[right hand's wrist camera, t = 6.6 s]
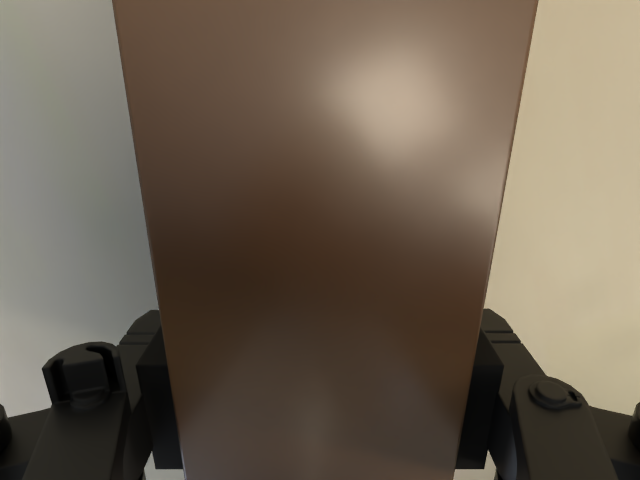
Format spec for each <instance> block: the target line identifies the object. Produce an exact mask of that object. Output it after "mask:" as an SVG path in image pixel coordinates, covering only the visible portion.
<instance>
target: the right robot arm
mask: <svg viewBox="0 0 640 480" xmlns="http://www.w3.org/2000/svg"><path fill="white" fill-rule="evenodd" d="M42 371H43V375H44V378H45V382H46V385H47V388H48V392H49V395H50V398H51V402H52V406H51V408H48V409H44V410H41V411H36V412H32V413H27V414H23V415H18V416H14V417H9V418H8V417H7V415H6V412H5V409H4V406H2V405H1V404H0V480H146V477H145V472H144V467H145V465H146V463H147V461H148V458H149V456H150V454H151V451H152V453H153V458H154V463H155V468H156V469H183V463H182V457H181V450H180V444H179V437H178V431H177V424H176V417H175V411H174V404H173V398H172V391H171V385H170V378H169V371H168V365H167V358H166V352H165V345H164V339H163V332H162V325H161V319H160V312H159V310H150V311H149V312H147V313H146V314H144V315H143V316H141V317H140V318H138V319H137V320H135V322H134V323H133V325H132V326H131V327H130V329H129V330H128V331H127V335H124V337H123V338H122V340H121V341H120V342H119V345H117V346H114V345H113V344H111V343H106V342H88V343H84V344H79V345H75V346H73V347H70V348H68V349H66V350H63V351H61V352H59V353H58V354H56V355H55V356H54V357H52V358H51V359H49V360H48V361H47V363H46V364H45V365H44V366H43V368H42ZM488 450H489V452H490V454H491V457H492V459H493V461H494V463H495V466H496V472H495V477H494V480H640V403H638V404H637V405H636V408H635V411H634V414H633V416H630V415H625V414H621V413H616V412H612V411H607V410H603V409H598V408H595V407H591V406H589V405H588V403H587V402H586V400H585V399H584V397H583V396H582V394H581V393H579V392H578V391H577V390H576V389H574V388H573V387H572V386H571V385H569V384H567V383H565V382H563V381H560V380H558V379H556V378H552V377H548V376H546V375H545V373H544V372H543V370H542V369H541V368H540V366H539V365H538V364H537V362H536V361H535V360H534V358H533V357H532V356H531V354H530V353H529V352H528V350H527V349H526V347H525V346H524V345H523V344H521V341H520V339H519V338H518V337H517V335H516V334H515V333H513V330H512V329H511V327H510V326H509V324H508V323H507V322H506V320H505V319H504V318H502V317H501V316H499V315H498V314H496V313H495V312H493V311H492V310H490V309H483V314H482V320H481V325H480V331H479V336H478V342H477V348H476V353H475V359H474V364H473V370H472V376H471V381H470V387H469V392H468V398H467V404H466V409H465V415H464V421H463V426H462V432H461V437H460V443H459V449H458V454H457V460H456V465H455V469H484V467H485V462H486V457H487V451H488Z"/></svg>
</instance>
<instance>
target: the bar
mask: <svg viewBox="0 0 640 480" xmlns="http://www.w3.org/2000/svg"><path fill="white" fill-rule="evenodd" d="M112 3H113V10H114V17H115V23H116V30H117V36H118V43H119V49H120V56H121V63H122V69H123V76H124V82H125V89H126V95H127V102H128V109H129V115H130V122H131V128H132V135H133V141H134V148H135V155H136V161H137V168H138V174H139V181H140V187H141V194H142V201H143V207H144V214H145V220H146V227H147V233H148V240H149V247H150V253H151V260H152V266H153V273H154V279H155V286H156V293H157V299H158V306H159V312H160V319H161V325H162V332H163V339H164V345H165V352H166V358H167V365H168V371H169V378H170V385H171V391H172V398H173V404H174V411H175V417H176V424H177V431H178V437H179V444H180V450H181V457H182V463H183V470H184V477H185V480H453V477H454V471H455V465H456V460H457V454H458V449H459V443H460V437H461V432H462V426H463V421H464V415H465V409H466V404H467V398H468V392H469V387H470V381H471V376H472V370H473V364H474V359H475V353H476V348H477V342H478V336H479V331H480V325H481V320H482V314H483V308H484V303H485V297H486V291H487V286H488V280H489V275H490V269H491V263H492V258H493V252H494V247H495V241H496V235H497V230H498V224H499V218H500V213H501V207H502V202H503V196H504V190H505V185H506V179H507V174H508V168H509V162H510V157H511V151H512V146H513V140H514V134H515V129H516V123H517V117H518V112H519V106H520V101H521V95H522V89H523V84H524V78H525V73H526V67H527V61H528V56H529V50H530V45H531V39H532V33H533V28H534V22H535V16H536V11H537V5H538V0H112Z"/></svg>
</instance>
